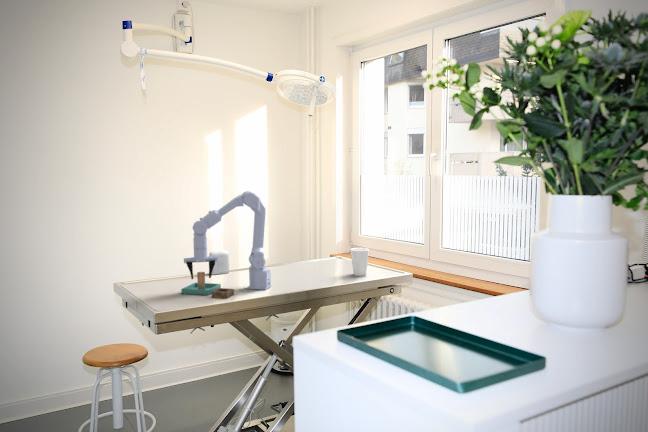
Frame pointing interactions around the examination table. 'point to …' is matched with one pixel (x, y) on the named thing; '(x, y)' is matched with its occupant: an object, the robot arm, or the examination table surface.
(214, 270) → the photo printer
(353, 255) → the foam cup
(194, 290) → the teal tray
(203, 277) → the dowel
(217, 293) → the walnut holder
